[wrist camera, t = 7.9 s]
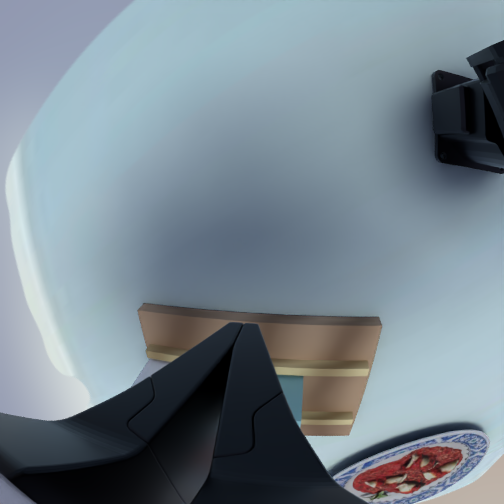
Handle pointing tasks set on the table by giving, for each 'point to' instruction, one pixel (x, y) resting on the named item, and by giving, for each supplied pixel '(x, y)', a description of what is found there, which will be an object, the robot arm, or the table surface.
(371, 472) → the ceramic plate
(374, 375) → the table surface
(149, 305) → the board
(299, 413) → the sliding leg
